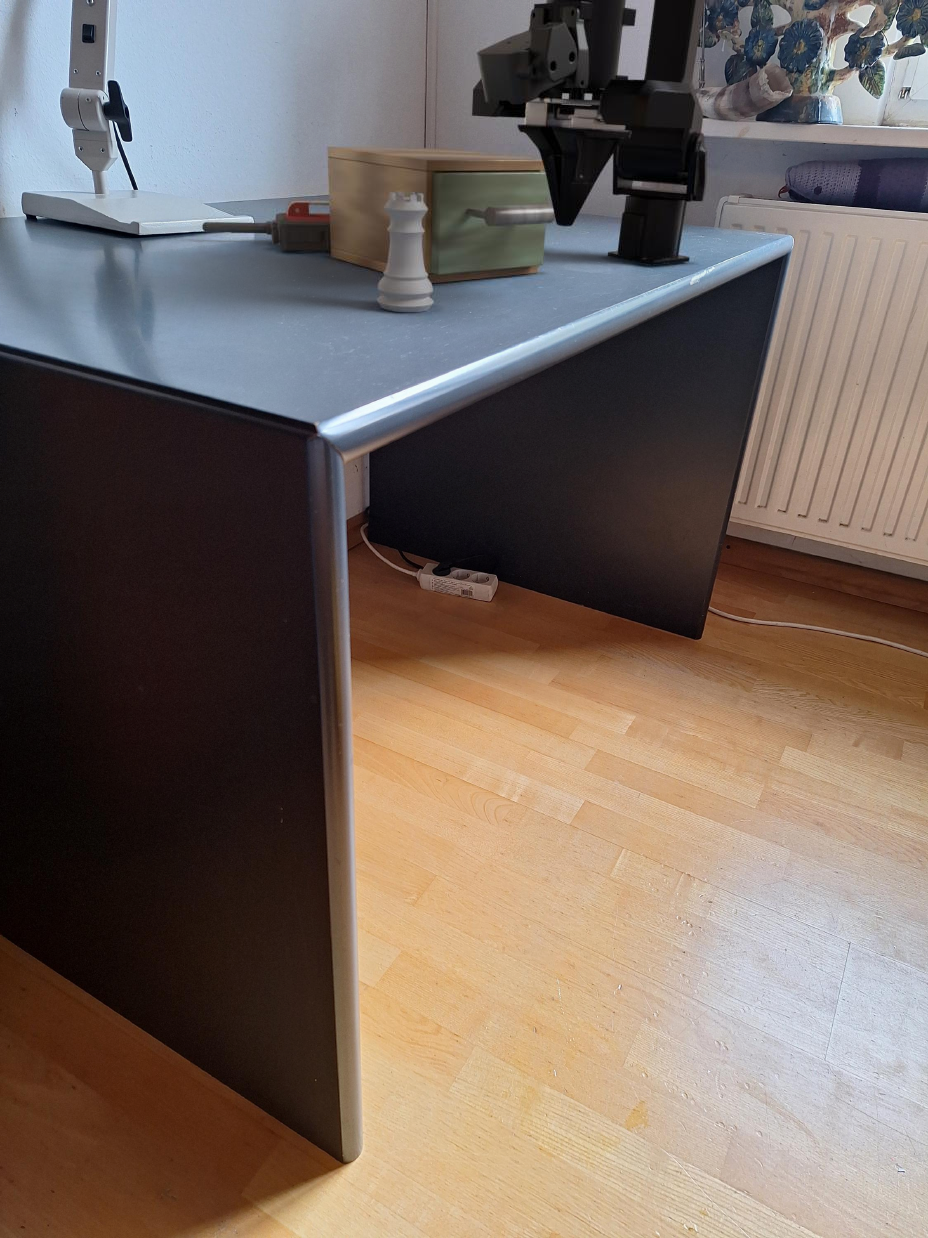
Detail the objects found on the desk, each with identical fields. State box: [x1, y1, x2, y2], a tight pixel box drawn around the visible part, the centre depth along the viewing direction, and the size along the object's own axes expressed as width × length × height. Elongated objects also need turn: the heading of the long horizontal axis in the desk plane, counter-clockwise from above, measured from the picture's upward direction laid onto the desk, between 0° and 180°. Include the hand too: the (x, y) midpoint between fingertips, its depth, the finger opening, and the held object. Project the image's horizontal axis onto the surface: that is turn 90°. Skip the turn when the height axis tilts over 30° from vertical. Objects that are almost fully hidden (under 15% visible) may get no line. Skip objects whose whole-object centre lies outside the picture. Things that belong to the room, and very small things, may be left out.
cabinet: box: [326, 146, 545, 284], centre depth 82 cm, size 16×14×10 cm
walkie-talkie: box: [201, 199, 331, 253], centre depth 90 cm, size 9×4×20 cm
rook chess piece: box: [376, 192, 435, 313], centre depth 65 cm, size 4×4×8 cm
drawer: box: [431, 171, 556, 275], centre depth 80 cm, size 18×12×8 cm
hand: (564, 225), depth 70 cm, fingers closed
